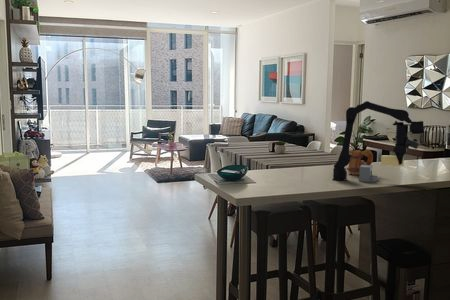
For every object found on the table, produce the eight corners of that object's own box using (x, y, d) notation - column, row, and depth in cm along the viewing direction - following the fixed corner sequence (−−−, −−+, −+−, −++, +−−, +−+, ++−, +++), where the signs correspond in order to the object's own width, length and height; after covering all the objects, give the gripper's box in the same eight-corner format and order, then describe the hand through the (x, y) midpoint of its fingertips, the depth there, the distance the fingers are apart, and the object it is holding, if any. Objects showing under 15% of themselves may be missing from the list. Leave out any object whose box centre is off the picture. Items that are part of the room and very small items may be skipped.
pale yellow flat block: (380, 165, 234) (381, 155, 234) (381, 164, 237) (381, 155, 236) (403, 166, 230) (403, 156, 229) (403, 165, 232) (403, 156, 231)
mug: (344, 174, 258) (345, 149, 256) (348, 172, 265) (348, 147, 263) (370, 176, 251) (371, 150, 249) (373, 174, 258) (374, 148, 256)
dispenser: (359, 181, 238) (359, 166, 237) (361, 178, 245) (362, 164, 244) (375, 182, 234) (376, 167, 233) (377, 179, 241) (378, 165, 240)
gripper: (417, 135, 218) (416, 167, 219) (419, 133, 234) (418, 162, 236) (393, 135, 222) (392, 166, 224) (397, 132, 239) (396, 161, 241)
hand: (400, 163), depth 231 cm, fingers closed on pale yellow flat block, 2 cm apart
